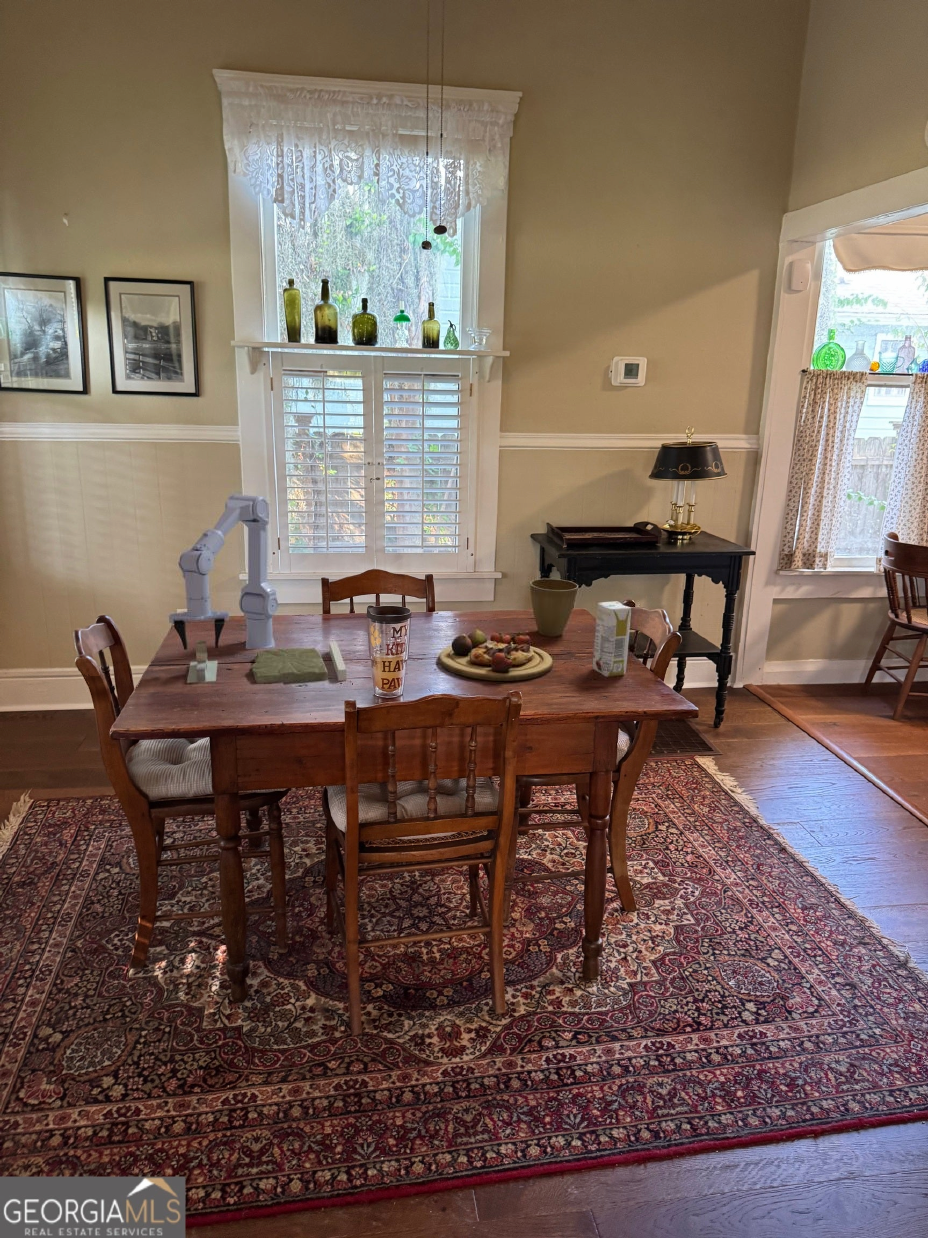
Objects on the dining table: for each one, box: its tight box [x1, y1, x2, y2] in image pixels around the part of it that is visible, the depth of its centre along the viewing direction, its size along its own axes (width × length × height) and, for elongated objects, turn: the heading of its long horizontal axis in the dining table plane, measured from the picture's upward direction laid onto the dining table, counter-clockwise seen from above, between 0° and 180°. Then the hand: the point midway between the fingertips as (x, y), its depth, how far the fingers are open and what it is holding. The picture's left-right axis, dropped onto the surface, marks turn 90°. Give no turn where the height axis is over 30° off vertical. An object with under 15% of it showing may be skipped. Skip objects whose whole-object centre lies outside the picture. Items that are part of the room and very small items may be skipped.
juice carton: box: [592, 600, 632, 677], centre depth 220 cm, size 8×9×19 cm
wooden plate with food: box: [438, 628, 554, 682], centre depth 226 cm, size 32×32×8 cm
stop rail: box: [328, 641, 347, 682], centre depth 221 cm, size 24×2×3 cm, turn 15°
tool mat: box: [186, 660, 218, 684], centre depth 212 cm, size 16×7×1 cm, turn 15°
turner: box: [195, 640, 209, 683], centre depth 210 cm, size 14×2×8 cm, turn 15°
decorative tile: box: [251, 647, 328, 684], centre depth 216 cm, size 19×20×4 cm
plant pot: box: [529, 578, 579, 637], centre depth 254 cm, size 15×15×16 cm
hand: (201, 647), depth 210 cm, fingers open, 7 cm apart
